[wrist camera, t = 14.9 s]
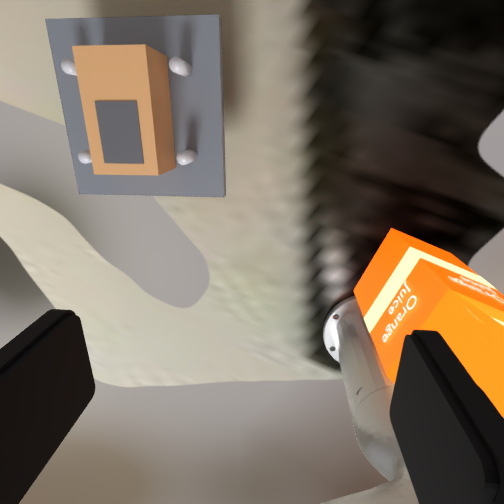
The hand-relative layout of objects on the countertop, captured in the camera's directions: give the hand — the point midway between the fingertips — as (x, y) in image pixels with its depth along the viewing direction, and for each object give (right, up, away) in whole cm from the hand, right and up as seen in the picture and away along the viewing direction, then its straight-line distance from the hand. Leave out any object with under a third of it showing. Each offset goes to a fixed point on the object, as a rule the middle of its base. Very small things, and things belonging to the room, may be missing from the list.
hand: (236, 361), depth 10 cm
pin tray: (-10, +17, +24) cm, 31 cm away
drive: (-10, +17, +23) cm, 30 cm away
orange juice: (+18, +1, +29) cm, 34 cm away
